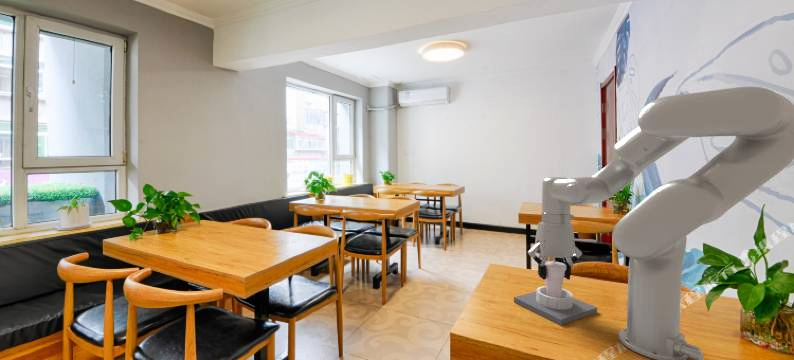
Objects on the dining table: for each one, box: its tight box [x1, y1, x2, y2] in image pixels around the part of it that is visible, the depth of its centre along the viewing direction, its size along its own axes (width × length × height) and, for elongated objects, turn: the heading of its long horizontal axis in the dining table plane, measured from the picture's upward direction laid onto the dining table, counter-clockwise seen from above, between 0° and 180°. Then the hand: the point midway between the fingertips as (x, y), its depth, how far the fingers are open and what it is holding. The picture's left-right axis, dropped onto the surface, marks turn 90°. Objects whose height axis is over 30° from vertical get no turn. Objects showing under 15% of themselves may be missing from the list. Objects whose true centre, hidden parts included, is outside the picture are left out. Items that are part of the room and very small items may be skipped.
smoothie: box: [544, 257, 566, 298], centre depth 93 cm, size 6×6×14 cm
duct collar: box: [513, 285, 598, 326], centre depth 93 cm, size 16×16×4 cm
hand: (554, 277), depth 93 cm, fingers closed on smoothie, 6 cm apart
